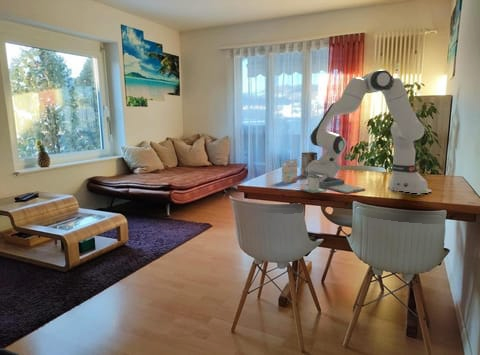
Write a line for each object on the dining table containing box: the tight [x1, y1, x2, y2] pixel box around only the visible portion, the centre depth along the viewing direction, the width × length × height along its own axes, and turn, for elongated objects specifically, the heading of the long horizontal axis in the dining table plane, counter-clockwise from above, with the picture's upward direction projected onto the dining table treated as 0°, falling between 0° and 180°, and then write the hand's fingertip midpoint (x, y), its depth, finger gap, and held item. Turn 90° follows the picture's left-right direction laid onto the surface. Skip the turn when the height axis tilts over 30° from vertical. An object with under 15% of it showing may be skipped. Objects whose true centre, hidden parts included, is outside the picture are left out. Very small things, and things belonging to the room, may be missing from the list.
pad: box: [300, 187, 327, 194], centre depth 192 cm, size 10×10×1 cm
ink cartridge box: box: [281, 158, 298, 184], centre depth 214 cm, size 9×5×15 cm, turn 112°
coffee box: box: [300, 151, 318, 177], centre depth 236 cm, size 9×6×16 cm
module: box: [307, 175, 321, 191], centre depth 191 cm, size 4×4×8 cm
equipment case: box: [307, 176, 366, 194], centre depth 200 cm, size 30×15×4 cm, turn 32°
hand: (313, 179), depth 191 cm, fingers open, 8 cm apart
